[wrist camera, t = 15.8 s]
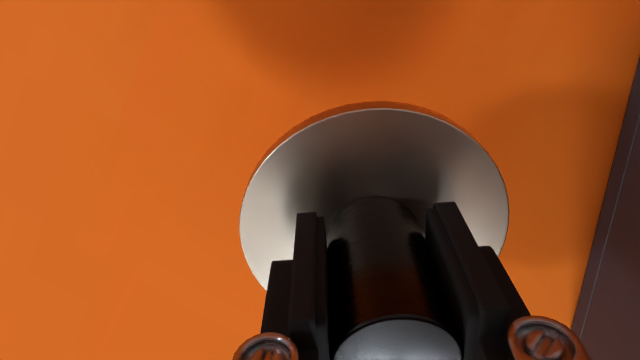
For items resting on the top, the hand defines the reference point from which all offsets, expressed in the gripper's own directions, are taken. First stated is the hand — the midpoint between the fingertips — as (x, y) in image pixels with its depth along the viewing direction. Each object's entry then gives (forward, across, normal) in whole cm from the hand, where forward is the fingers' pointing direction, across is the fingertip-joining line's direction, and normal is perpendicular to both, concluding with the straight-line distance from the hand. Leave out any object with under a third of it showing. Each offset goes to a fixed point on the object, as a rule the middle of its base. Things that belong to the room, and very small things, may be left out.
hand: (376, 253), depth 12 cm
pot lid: (+1, 0, 0) cm, 1 cm away
